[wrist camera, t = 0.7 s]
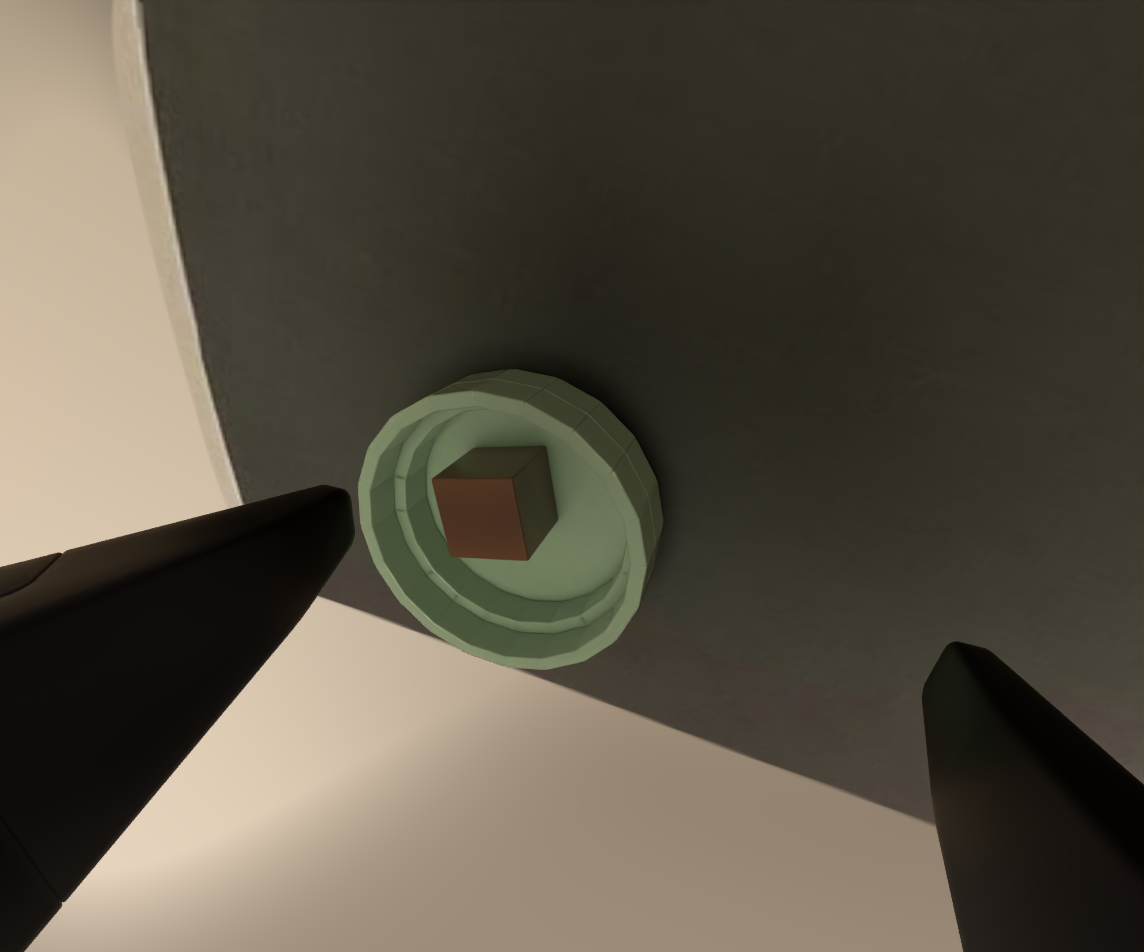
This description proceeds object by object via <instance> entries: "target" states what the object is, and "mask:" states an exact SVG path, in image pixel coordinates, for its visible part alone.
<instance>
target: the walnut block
mask: <svg viewBox="0 0 1144 952" xmlns="http://www.w3.org/2000/svg"><path fill="white" fill-rule="evenodd" d="M431 481H432V485H433V489H434V493H435V497H436V501H437V505H438V509H439V513H440V517H441V521H442V525H443V529H444V533H445V537H446V541H447V545H448V548H449V552H450V556H451V557H457V558H477V559H496V560H515V561H528V560H529V559H530V558H531V556H532V555H533V554H534V552H535V551H536V550H537V548H538V547H539V546H540V544H541V543H542V542H543V540H544V539H545V537H546V536H547V535H548V533H549V532H550V531H551V529H552V528H553V527H554V525H555V524H556V523H557V521H558V515H557V509H556V503H555V497H554V491H553V485H552V479H551V473H550V467H549V461H548V455H547V449H546V446H521V447H482V448H472V449H471V450H469V451H468V452H467V453H465V454H464V455H463V456H461V457H460V458H459V459H457V460H456V461H455V462H453V463H452V464H451V465H449V466H448V467H447V468H445V469H444V470H443V471H441V472H440V473H439V474H437V475H436V476H435V477H433V478H432V479H431Z"/></svg>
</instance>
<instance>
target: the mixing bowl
mask: <svg viewBox="0 0 1144 952" xmlns="http://www.w3.org/2000/svg"><path fill="white" fill-rule="evenodd" d="M521 446H546V449H547V455H548V461H549V467H550V473H551V479H552V485H553V491H554V497H555V503H556V509H557V515H558V521H557V523H556V524H555V525H554V527H553V528H552V529H551V531H550V532H549V533H548V535H547V536H546V537H545V539H544V540H543V542H542V543H541V544H540V546H539V547H538V548H537V550H536V551H535V552H534V554H533V555H532V556H531V558H530V559H529V560H528V561H515V560H496V559H477V558H457V557H451V556H450V552H449V548H448V545H447V541H446V537H445V533H444V529H443V525H442V521H441V517H440V513H439V509H438V505H437V501H436V497H435V493H434V489H433V485H432V481H431V479H432V478H433V477H435V476H436V475H437V474H439V473H440V472H441V471H443V470H444V469H445V468H447V467H448V466H449V465H451V464H452V463H453V462H455V461H456V460H457V459H459V458H460V457H461V456H463V455H464V454H465V453H467V452H468V451H469V450H471V449H472V448H482V447H521ZM358 485H359V486H358V496H359V510H360V524H361V528H362V531H363V534H364V537H365V539H366V542H367V545H368V548H369V550H370V553H371V556H372V559H373V562H374V564H375V566H376V568H377V569H378V571H379V572H380V574H381V575H382V577H383V578H384V580H385V581H386V583H387V584H388V586H389V587H390V589H391V590H392V592H393V594H394V595H395V597H396V598H397V599H398V600H399V602H400V603H401V604H402V605H403V606H404V607H406V608H407V609H408V610H409V611H410V612H411V613H412V614H413V615H414V616H415V617H416V618H417V619H418V620H419V621H420V622H421V623H422V624H423V625H424V626H425V627H426V628H427V629H428V630H430V631H431V632H432V633H434V634H436V635H437V636H439V637H441V638H442V639H444V640H445V641H447V642H449V643H450V644H452V645H453V646H455V647H457V648H458V649H460V650H461V651H463V652H466V653H467V654H470V655H473V656H475V657H478V658H481V659H484V660H487V661H490V662H493V663H496V664H499V665H502V666H506V667H514V668H527V669H540V670H545V669H546V670H548V669H552V668H557V667H561V666H566V665H570V664H575V663H579V662H583V661H586V660H587V659H589V658H590V657H592V656H593V655H595V654H596V653H598V652H600V651H601V650H603V649H604V648H606V647H607V646H609V645H610V644H612V643H614V642H615V641H616V640H617V639H618V638H619V636H620V635H621V633H622V632H623V630H624V629H625V627H626V626H627V624H628V623H629V622H630V620H631V619H632V617H633V616H634V614H635V613H636V611H637V610H638V608H639V606H640V603H641V600H642V597H643V595H644V592H645V589H646V586H647V584H648V581H649V578H650V575H651V572H652V570H653V567H654V564H655V561H656V557H657V552H658V548H659V543H660V538H661V533H662V529H663V515H662V509H661V502H660V495H659V489H658V482H657V480H656V477H655V475H654V473H653V471H652V469H651V467H650V465H649V463H648V461H647V459H646V457H645V455H644V453H643V451H642V449H641V447H640V445H639V443H638V442H637V440H636V438H635V436H634V435H633V434H632V433H631V432H630V431H629V430H628V429H627V428H626V427H625V426H624V425H623V424H622V423H621V422H620V421H619V420H618V419H617V418H616V417H615V416H614V414H613V413H612V412H611V411H610V410H609V409H608V408H607V407H606V406H605V405H604V404H603V403H602V402H601V403H600V401H599V400H597V399H595V398H594V397H592V396H590V395H588V394H586V393H585V392H583V391H581V390H579V389H577V388H576V387H574V386H572V385H570V384H568V383H567V382H565V381H563V380H561V379H560V378H557V377H552V376H547V375H542V374H537V373H532V372H527V371H522V370H518V369H506V370H499V371H492V372H484V373H477V374H472V375H469V376H467V377H465V378H463V379H461V380H459V381H457V382H455V383H453V384H451V385H449V386H447V387H445V388H443V389H441V390H439V391H437V392H435V393H433V394H431V395H429V396H427V397H425V398H423V399H421V400H420V401H418V402H416V403H414V404H412V405H411V406H409V407H407V408H405V409H404V410H402V411H400V412H398V413H396V414H395V415H393V416H392V417H391V418H390V419H389V420H388V422H387V423H386V424H385V426H384V427H383V428H382V430H381V431H380V432H379V434H378V435H377V436H376V438H375V439H374V440H373V442H372V443H371V444H370V446H369V447H368V449H367V453H366V457H365V461H364V464H363V468H362V472H361V476H360V479H359V483H358Z"/></svg>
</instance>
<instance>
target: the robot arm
mask: <svg viewBox="0 0 1144 952" xmlns="http://www.w3.org/2000/svg"><path fill="white" fill-rule="evenodd" d="M354 536H355V527H354V519H353V510H352V502H351V497H350V495H349V493H348V492H347V491H346V490H344V489H341V488H337V487H333V486H329V485H319V486H316V487H312V488H308V489H304V490H300V491H296V492H292V493H288V494H284V495H280V496H277V497H273V498H269V499H265V500H261V501H257V502H253V503H249V504H245V505H242V506H238V507H234V508H230V509H226V510H222V511H219V512H215V513H210V514H207V515H203V516H199V517H195V518H191V519H187V520H184V521H179V522H176V523H172V524H168V525H164V526H160V527H156V528H152V529H149V530H145V531H141V532H137V533H133V534H129V535H125V536H121V537H117V538H114V539H109V540H105V541H101V542H98V543H94V544H90V545H86V546H82V547H78V548H74V549H70V550H67V551H65V552H64V553H63V554H62V553H55V554H51V555H47V556H43V557H39V558H35V559H31V560H27V561H24V562H19V563H15V564H11V565H7V566H3V567H0V952H24V951H25V950H26V949H27V948H28V946H29V945H30V944H31V943H32V941H33V940H34V939H35V938H36V937H37V936H38V934H39V933H40V932H41V931H42V930H43V928H44V927H45V926H46V925H47V924H48V922H49V921H50V920H51V919H52V918H53V916H54V915H55V914H56V913H57V912H58V910H59V909H60V908H61V907H62V902H65V901H66V900H67V899H68V898H69V897H70V896H71V894H72V893H73V892H74V891H75V890H76V888H77V887H78V886H79V885H80V883H81V882H82V881H83V880H84V879H85V878H86V876H87V875H88V874H89V873H90V872H91V870H92V869H93V868H94V867H95V866H96V864H97V863H98V862H99V861H100V860H101V858H102V857H103V856H104V855H105V854H106V853H107V851H108V850H109V849H110V848H111V847H112V845H113V844H114V843H115V842H116V841H117V839H118V838H119V837H120V836H121V835H122V833H123V832H124V831H125V830H126V829H127V827H128V826H129V825H130V824H131V823H132V821H133V820H134V819H135V818H136V817H137V815H138V814H139V813H140V812H141V811H142V809H143V808H144V807H145V805H147V803H148V802H149V801H150V800H151V798H152V797H153V796H154V795H155V794H156V793H157V791H158V790H159V789H160V788H161V786H162V785H163V784H164V783H165V782H166V781H167V779H168V778H169V777H170V776H171V775H172V773H173V772H174V771H175V770H176V769H177V768H178V766H179V765H180V764H181V762H183V760H184V759H185V758H186V757H187V755H188V754H189V753H190V752H191V751H192V750H193V748H194V747H195V746H196V745H197V744H198V742H199V741H200V740H201V739H202V738H203V736H204V735H205V734H206V733H207V731H208V730H209V729H210V728H211V727H212V726H213V724H214V723H215V722H216V721H217V720H218V718H219V717H220V716H221V715H222V713H223V712H224V711H225V710H226V709H227V708H228V706H229V705H230V704H231V703H232V702H233V700H234V699H235V698H236V697H237V696H238V694H239V693H240V692H241V691H242V690H243V689H244V687H245V686H246V685H247V684H248V682H249V681H250V680H251V679H252V678H253V677H254V675H255V674H256V673H257V672H258V671H259V669H260V668H261V667H262V666H263V665H264V663H265V662H266V661H267V660H268V659H269V657H270V656H271V655H272V654H273V652H274V651H275V650H276V649H277V648H278V646H279V645H280V644H281V643H282V642H283V640H284V639H285V638H286V637H287V636H288V635H289V633H290V632H291V631H292V630H293V629H294V627H295V626H296V625H297V623H298V622H299V621H300V620H301V618H302V617H303V616H304V614H305V613H306V611H307V610H308V609H309V607H310V606H311V604H312V603H313V601H314V600H315V599H316V597H317V596H318V594H319V593H320V591H321V590H322V588H323V587H324V585H325V584H326V582H327V581H328V579H329V578H330V576H331V575H332V573H333V572H334V570H335V569H336V568H337V566H338V565H339V563H340V562H341V560H342V559H343V557H344V556H345V554H346V553H347V551H348V550H349V548H350V547H351V545H352V543H353V540H354ZM922 705H923V715H924V725H925V735H926V745H927V755H928V766H929V776H930V786H931V796H932V803H933V811H934V817H935V822H936V827H937V833H938V837H939V842H940V846H941V851H942V855H943V860H944V865H945V869H946V874H947V879H948V883H949V888H950V892H951V897H952V902H953V906H954V911H955V915H956V920H957V924H958V929H959V934H960V938H961V943H962V948H963V952H1144V785H1143V784H1142V783H1141V782H1140V781H1139V780H1138V779H1137V778H1135V777H1134V776H1133V775H1132V774H1131V773H1130V772H1129V771H1127V770H1126V769H1125V768H1124V767H1123V766H1122V765H1121V764H1119V763H1118V762H1117V761H1116V760H1115V759H1114V758H1113V757H1111V756H1110V755H1109V754H1108V753H1107V752H1106V751H1105V750H1103V749H1102V748H1101V747H1100V746H1099V745H1098V744H1097V743H1095V742H1094V741H1093V740H1092V739H1091V738H1090V737H1089V736H1087V735H1086V734H1085V733H1084V732H1083V731H1082V730H1080V729H1079V728H1078V727H1077V726H1076V725H1075V724H1074V723H1072V722H1071V721H1070V720H1069V719H1068V718H1067V717H1066V716H1064V715H1063V714H1062V713H1061V712H1060V711H1059V710H1058V709H1056V708H1055V707H1054V706H1053V705H1052V704H1051V703H1050V702H1048V701H1047V700H1046V699H1045V698H1044V697H1043V696H1042V695H1040V694H1039V693H1038V692H1037V691H1036V690H1035V689H1034V688H1032V687H1031V686H1030V685H1029V684H1028V683H1027V682H1026V681H1024V680H1023V679H1022V678H1021V677H1020V676H1019V675H1018V674H1016V673H1015V672H1014V671H1013V670H1012V669H1011V668H1009V667H1008V666H1007V665H1006V664H1005V663H1004V662H1003V661H1001V660H1000V659H999V658H998V657H997V656H996V655H995V654H993V653H992V652H991V651H990V650H988V649H985V648H982V647H978V646H974V645H970V644H966V643H962V642H957V641H956V642H952V643H950V644H948V645H947V646H946V648H945V649H944V651H943V652H942V654H941V656H940V658H939V659H938V661H937V663H936V665H935V666H934V668H933V670H932V672H931V673H930V675H929V677H928V679H927V680H926V682H925V685H924V688H923V693H922Z"/></svg>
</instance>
